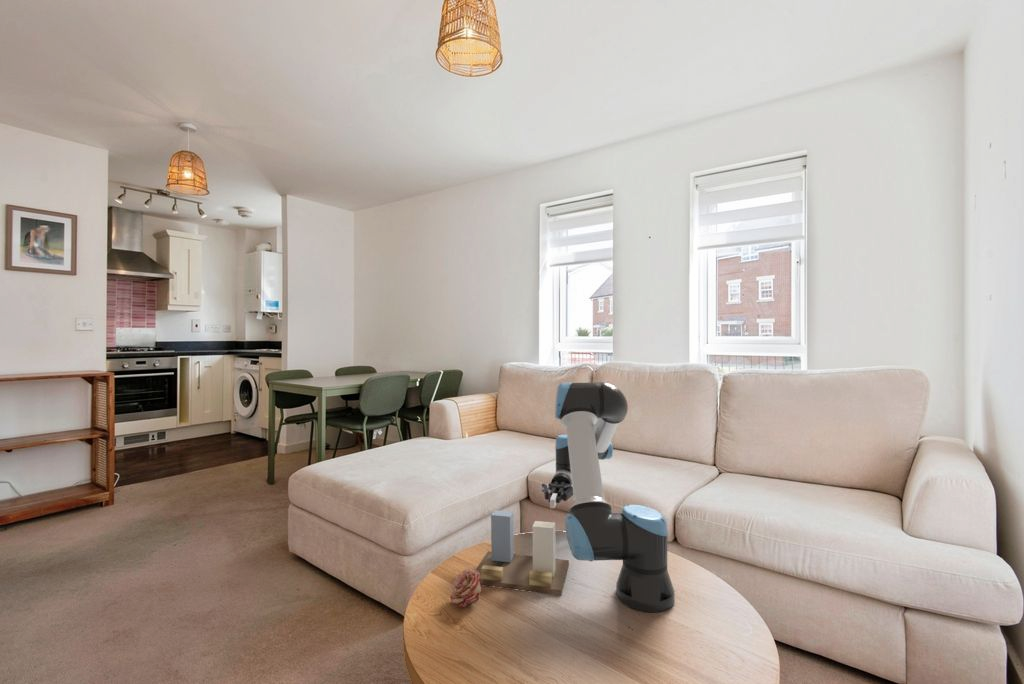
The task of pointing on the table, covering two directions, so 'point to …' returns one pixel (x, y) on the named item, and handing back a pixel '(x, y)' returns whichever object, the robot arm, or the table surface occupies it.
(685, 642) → the table surface
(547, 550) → the key cream
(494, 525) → the light blue tall block
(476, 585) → the flower
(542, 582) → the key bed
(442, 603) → the table surface
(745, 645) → the table surface
